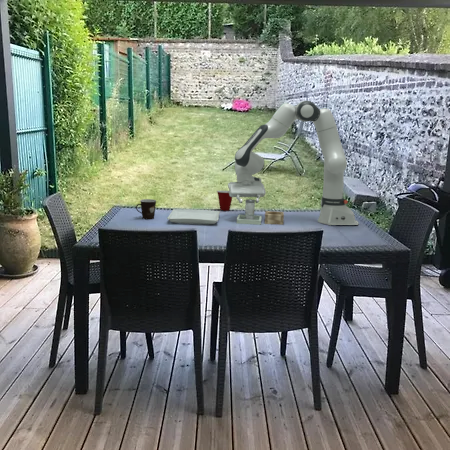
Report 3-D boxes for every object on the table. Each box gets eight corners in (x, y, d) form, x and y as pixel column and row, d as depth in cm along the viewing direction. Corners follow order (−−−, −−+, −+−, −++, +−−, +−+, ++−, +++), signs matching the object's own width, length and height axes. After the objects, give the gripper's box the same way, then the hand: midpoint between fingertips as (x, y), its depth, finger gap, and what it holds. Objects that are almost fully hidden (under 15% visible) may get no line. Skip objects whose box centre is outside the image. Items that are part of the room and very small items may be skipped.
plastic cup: (234, 208, 317) (235, 189, 315) (232, 212, 307) (233, 192, 304) (217, 207, 318) (217, 188, 316) (215, 211, 308) (215, 191, 305)
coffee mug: (154, 216, 288) (154, 199, 285) (157, 219, 280) (157, 201, 278) (133, 217, 284) (133, 199, 282) (136, 220, 276) (136, 202, 274)
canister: (254, 221, 281) (255, 199, 278) (253, 222, 276) (254, 201, 273) (244, 220, 281) (245, 199, 279) (244, 222, 276) (245, 200, 274)
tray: (261, 221, 284) (261, 215, 284) (260, 226, 272) (261, 220, 271) (238, 220, 285) (238, 214, 285) (236, 225, 273) (236, 219, 272)
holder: (282, 222, 283) (283, 211, 282) (283, 226, 274) (283, 215, 272) (264, 221, 284) (265, 210, 283) (264, 225, 275) (265, 214, 273)
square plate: (217, 227, 269) (218, 219, 268) (166, 225, 270) (166, 217, 269) (220, 216, 296) (220, 209, 295) (173, 214, 296) (173, 208, 295)
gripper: (228, 178, 280) (231, 199, 273) (263, 178, 284) (268, 199, 277) (226, 185, 285) (229, 205, 278) (261, 185, 290) (265, 205, 283)
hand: (249, 202), depth 278 cm, fingers open, 8 cm apart
